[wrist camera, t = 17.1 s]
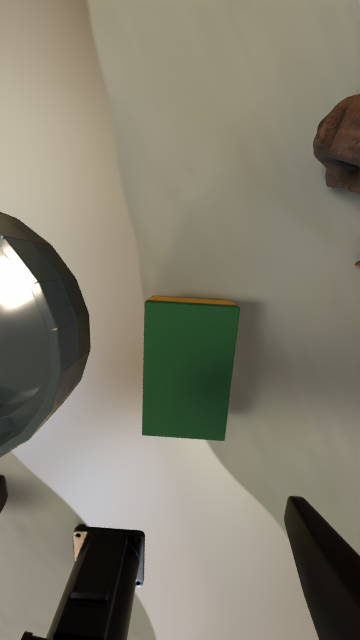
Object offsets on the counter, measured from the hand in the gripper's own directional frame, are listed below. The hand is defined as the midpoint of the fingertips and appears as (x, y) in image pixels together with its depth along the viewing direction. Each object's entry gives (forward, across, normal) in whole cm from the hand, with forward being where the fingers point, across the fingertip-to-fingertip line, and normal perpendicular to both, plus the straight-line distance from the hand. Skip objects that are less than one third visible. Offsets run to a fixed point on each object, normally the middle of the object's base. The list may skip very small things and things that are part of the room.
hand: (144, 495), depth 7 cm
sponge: (+10, -1, -1) cm, 10 cm away
